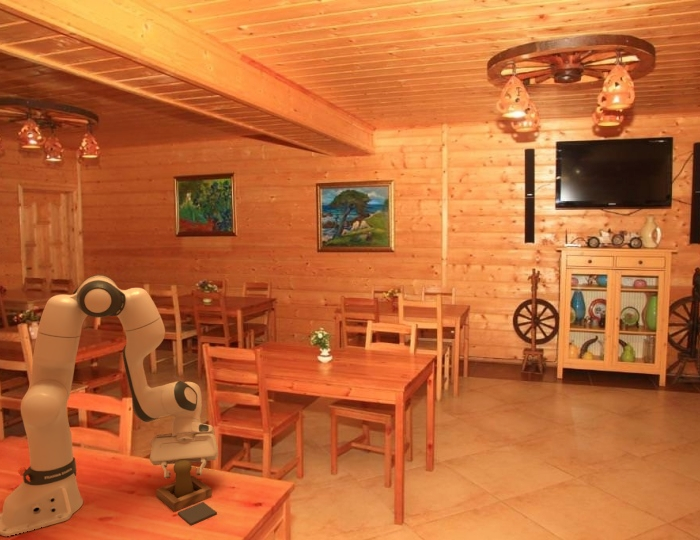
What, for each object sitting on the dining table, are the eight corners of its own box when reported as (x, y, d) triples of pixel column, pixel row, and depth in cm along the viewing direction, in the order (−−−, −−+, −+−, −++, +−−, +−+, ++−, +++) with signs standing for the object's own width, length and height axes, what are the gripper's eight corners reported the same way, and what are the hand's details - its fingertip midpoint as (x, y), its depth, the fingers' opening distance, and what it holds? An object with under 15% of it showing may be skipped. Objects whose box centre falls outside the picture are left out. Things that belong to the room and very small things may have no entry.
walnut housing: (174, 511, 159) (174, 503, 158) (156, 496, 167) (156, 488, 167) (211, 496, 167) (211, 488, 167) (193, 482, 176) (192, 475, 175)
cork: (187, 489, 171) (185, 455, 170) (198, 495, 168) (196, 461, 166) (169, 497, 167) (167, 463, 166) (181, 504, 163) (179, 468, 162)
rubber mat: (190, 525, 151) (190, 523, 151) (177, 514, 157) (177, 512, 157) (216, 514, 157) (216, 512, 157) (203, 503, 163) (203, 501, 163)
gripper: (150, 431, 171) (145, 475, 162) (217, 425, 174) (216, 469, 165) (154, 439, 176) (149, 483, 167) (219, 433, 179) (218, 476, 170)
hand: (183, 476), depth 166 cm, fingers open, 8 cm apart
